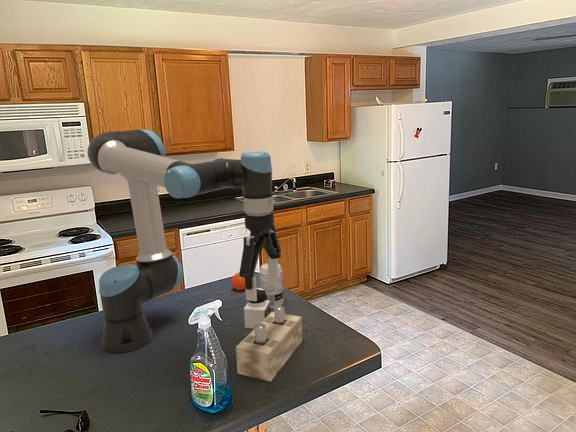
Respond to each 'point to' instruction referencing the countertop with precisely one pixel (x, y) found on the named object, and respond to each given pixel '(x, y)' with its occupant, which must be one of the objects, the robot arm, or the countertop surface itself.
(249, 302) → the medicine bottle
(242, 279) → the tomato
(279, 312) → the pin
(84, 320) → the countertop surface
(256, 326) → the pin
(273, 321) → the pin block
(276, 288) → the supplement can
